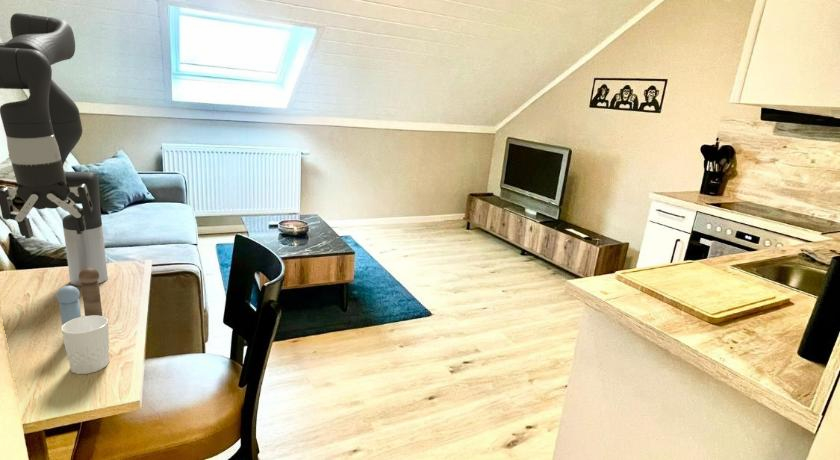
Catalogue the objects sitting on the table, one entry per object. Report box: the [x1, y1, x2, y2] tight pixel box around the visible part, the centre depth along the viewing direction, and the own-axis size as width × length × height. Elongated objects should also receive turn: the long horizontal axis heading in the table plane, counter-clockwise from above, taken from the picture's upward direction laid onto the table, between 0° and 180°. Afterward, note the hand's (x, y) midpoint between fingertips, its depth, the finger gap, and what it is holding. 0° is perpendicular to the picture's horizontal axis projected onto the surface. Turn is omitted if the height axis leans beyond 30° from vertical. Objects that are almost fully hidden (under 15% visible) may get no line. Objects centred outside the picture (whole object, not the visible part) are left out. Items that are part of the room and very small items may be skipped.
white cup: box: [60, 315, 110, 375], centre depth 95 cm, size 8×8×10 cm
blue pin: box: [56, 285, 82, 327], centre depth 103 cm, size 4×4×14 cm
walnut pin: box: [79, 268, 103, 316], centre depth 114 cm, size 4×4×14 cm
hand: (55, 234), depth 93 cm, fingers open, 8 cm apart
